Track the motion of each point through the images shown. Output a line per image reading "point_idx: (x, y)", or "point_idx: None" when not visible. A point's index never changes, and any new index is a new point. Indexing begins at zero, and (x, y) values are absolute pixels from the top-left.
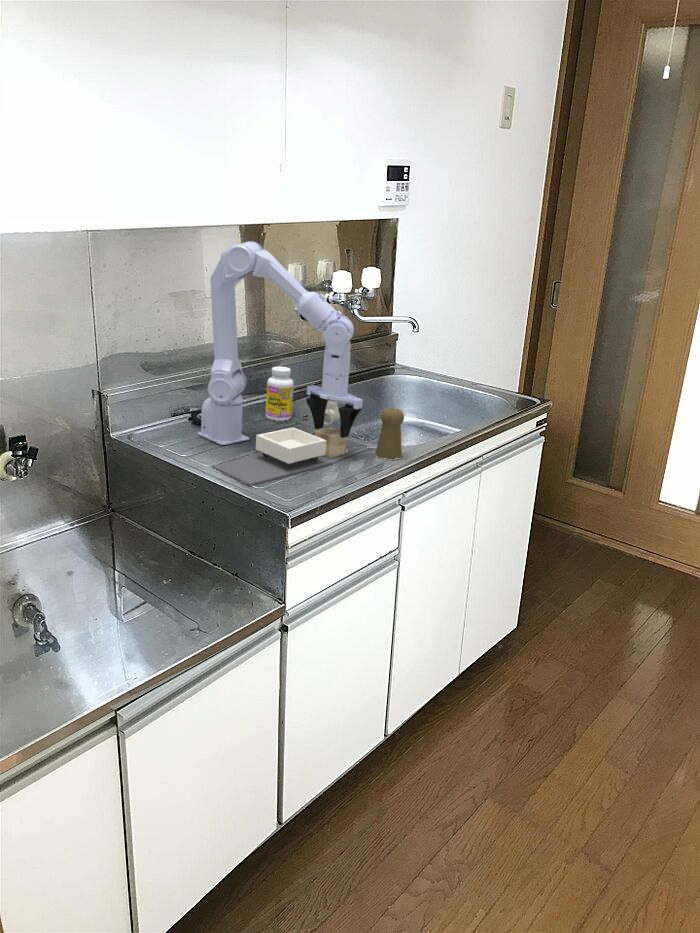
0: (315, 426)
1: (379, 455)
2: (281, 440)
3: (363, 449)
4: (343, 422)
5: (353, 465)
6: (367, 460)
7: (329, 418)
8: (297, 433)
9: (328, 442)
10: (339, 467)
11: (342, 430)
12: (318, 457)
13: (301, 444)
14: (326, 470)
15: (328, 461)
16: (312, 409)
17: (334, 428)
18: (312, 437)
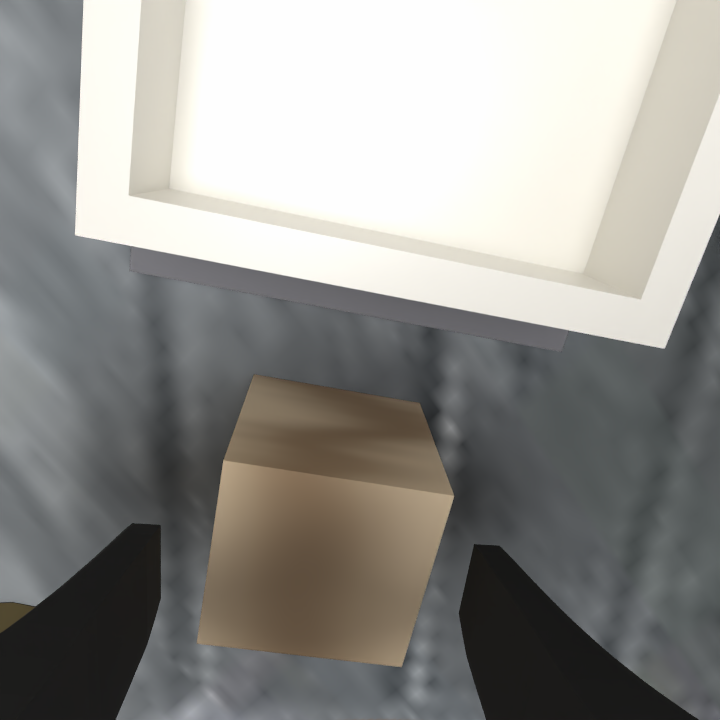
0: (497, 557)
1: (13, 620)
2: (643, 116)
3: (203, 654)
4: (13, 638)
5: (19, 368)
6: (36, 519)
7: None
8: (548, 276)
9: (263, 432)
10: (52, 251)
11: (92, 564)
12: (282, 279)
13: (425, 202)
14: (66, 103)
15: (163, 259)
16: (625, 701)
17: (360, 661)
18: (294, 226)
